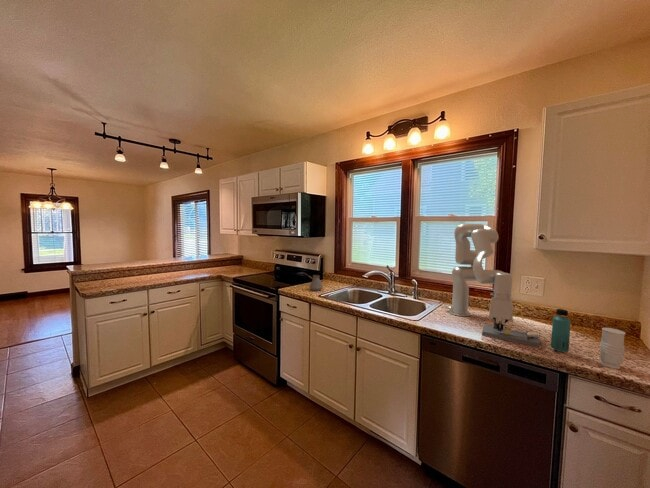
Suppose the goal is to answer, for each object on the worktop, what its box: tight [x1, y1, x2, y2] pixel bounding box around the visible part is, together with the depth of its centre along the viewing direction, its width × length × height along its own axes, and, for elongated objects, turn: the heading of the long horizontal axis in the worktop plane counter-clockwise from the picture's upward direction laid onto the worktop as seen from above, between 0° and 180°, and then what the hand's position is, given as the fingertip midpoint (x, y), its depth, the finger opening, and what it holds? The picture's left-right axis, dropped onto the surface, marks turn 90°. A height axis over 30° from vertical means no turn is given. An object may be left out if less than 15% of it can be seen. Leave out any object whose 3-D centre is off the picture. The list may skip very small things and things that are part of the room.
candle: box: [598, 327, 627, 370], centre depth 111 cm, size 7×7×15 cm
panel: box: [481, 324, 541, 348], centre depth 139 cm, size 24×13×3 cm, turn 56°
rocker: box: [527, 331, 539, 338], centre depth 134 cm, size 4×4×1 cm
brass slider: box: [504, 325, 512, 335], centre depth 137 cm, size 3×3×4 cm
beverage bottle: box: [550, 308, 572, 353], centre depth 123 cm, size 6×7×20 cm
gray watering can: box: [300, 271, 323, 292], centre depth 235 cm, size 21×12×15 cm, turn 62°
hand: (499, 330), depth 139 cm, fingers closed
